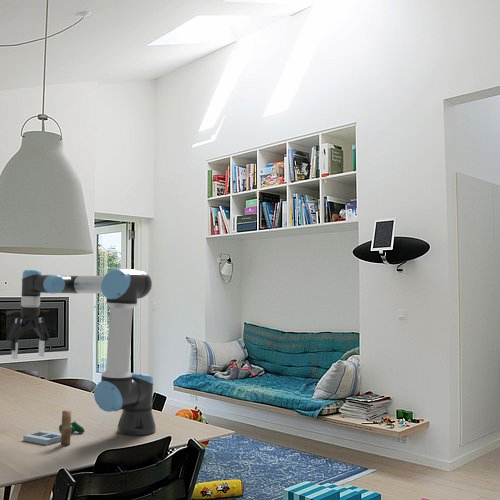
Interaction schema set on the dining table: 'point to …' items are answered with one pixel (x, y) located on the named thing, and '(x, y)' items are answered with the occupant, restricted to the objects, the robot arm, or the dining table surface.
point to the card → (74, 433)
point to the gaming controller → (74, 427)
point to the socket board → (43, 437)
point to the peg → (66, 428)
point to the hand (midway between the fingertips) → (28, 357)
